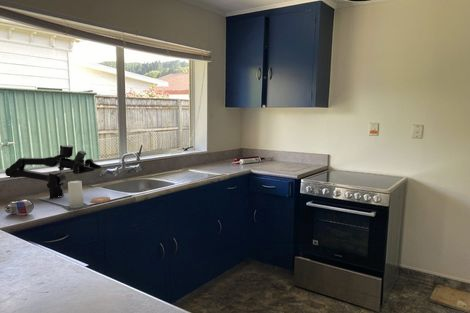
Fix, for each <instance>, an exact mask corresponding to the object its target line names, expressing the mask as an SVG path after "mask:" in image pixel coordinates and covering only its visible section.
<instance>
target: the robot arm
mask: <svg viewBox="0 0 470 313" xmlns="http://www.w3.org/2000/svg"><path fill="white" fill-rule="evenodd" d="M73 153H74V146H73V145H71V144H69V145H65V144H64V145H63V144H61V145H59V154H57V155H54V156H49V157H20V158H18V159H17V160H16V161H15V162H14V163H13V164H11V165H10V166H9V167H7V168H6V169H5V170H4V172H5V176H6V177H7V176H10V177H9V178H26V179H33V180H39V181H44V182H47V183H46V188H47V189H48V190H49V197H58V196H62V197H64V194H65V192H64V187H63V185H64V184H65V182H66V178H67V177H66V175H65V174H64V173H62V171H64V170H65V169H69V170H70V171H72V173H73V174H74V175H81V174H85V173H89V172H93V171H95V170H97V169H101V168H102V165H100V164H97V163H96V162H94V159H93V158H87V159H84V158H85V157H86V155H87V153H86V151H84V150H79V151H78V152H77V153H76V155H75V156H74V159H72V158H71V157H73ZM26 166H45V167H50V168H53V167H57V169H58V170H59V172H58V171H57V170H55V171H51V172H49V173H48V172H47V173H46V172H40V171H36V170H28V169H25V167H26Z"/></svg>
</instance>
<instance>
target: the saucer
mask: <svg viewBox="0 0 470 313" xmlns="http://www.w3.org/2000/svg"><path fill="white" fill-rule="evenodd" d="M109 201H111V197H109V196H98V197H94V198H91V199H90V203H93V204H101V203H106V202H109Z"/></svg>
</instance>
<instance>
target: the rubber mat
mask: <svg viewBox="0 0 470 313" xmlns="http://www.w3.org/2000/svg"><path fill="white" fill-rule="evenodd" d="M83 204H84V206H83V207H81V208H76V209H71V208H70V205H64V206H62V207H61V208H63V209H64V210H66V211H67V212H71V211H77V210H78V211H79V210H82V209H89V208H92V206H91V205H89V204H88V203H85V202H83Z"/></svg>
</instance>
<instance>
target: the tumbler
mask: <svg viewBox="0 0 470 313" xmlns="http://www.w3.org/2000/svg"><path fill="white" fill-rule="evenodd" d="M82 182H83V181H82V180H72V181H71V180H70V181H68V182H67V189H68V190H67V192H68V199H69V201H68V202H69V206H70V208H71V209H76V208H81V207H83V206H84V204H83V203H84V197H83V196H84V193H83V183H82Z"/></svg>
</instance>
